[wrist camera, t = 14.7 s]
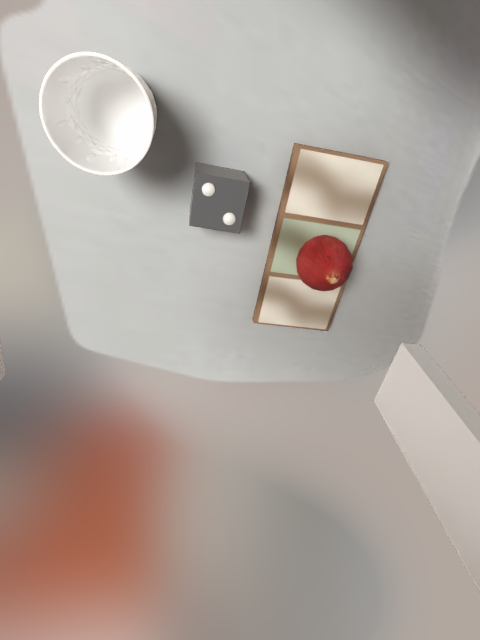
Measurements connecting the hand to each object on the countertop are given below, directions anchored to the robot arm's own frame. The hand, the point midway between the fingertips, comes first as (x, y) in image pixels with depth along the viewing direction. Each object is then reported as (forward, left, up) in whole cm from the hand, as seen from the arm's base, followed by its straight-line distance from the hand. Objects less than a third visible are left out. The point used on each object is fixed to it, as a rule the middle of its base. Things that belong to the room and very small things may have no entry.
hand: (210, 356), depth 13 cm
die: (+2, +2, -32) cm, 32 cm away
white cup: (-4, -8, -32) cm, 33 cm away
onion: (+6, +14, -31) cm, 34 cm away
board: (+6, +14, -32) cm, 35 cm away
